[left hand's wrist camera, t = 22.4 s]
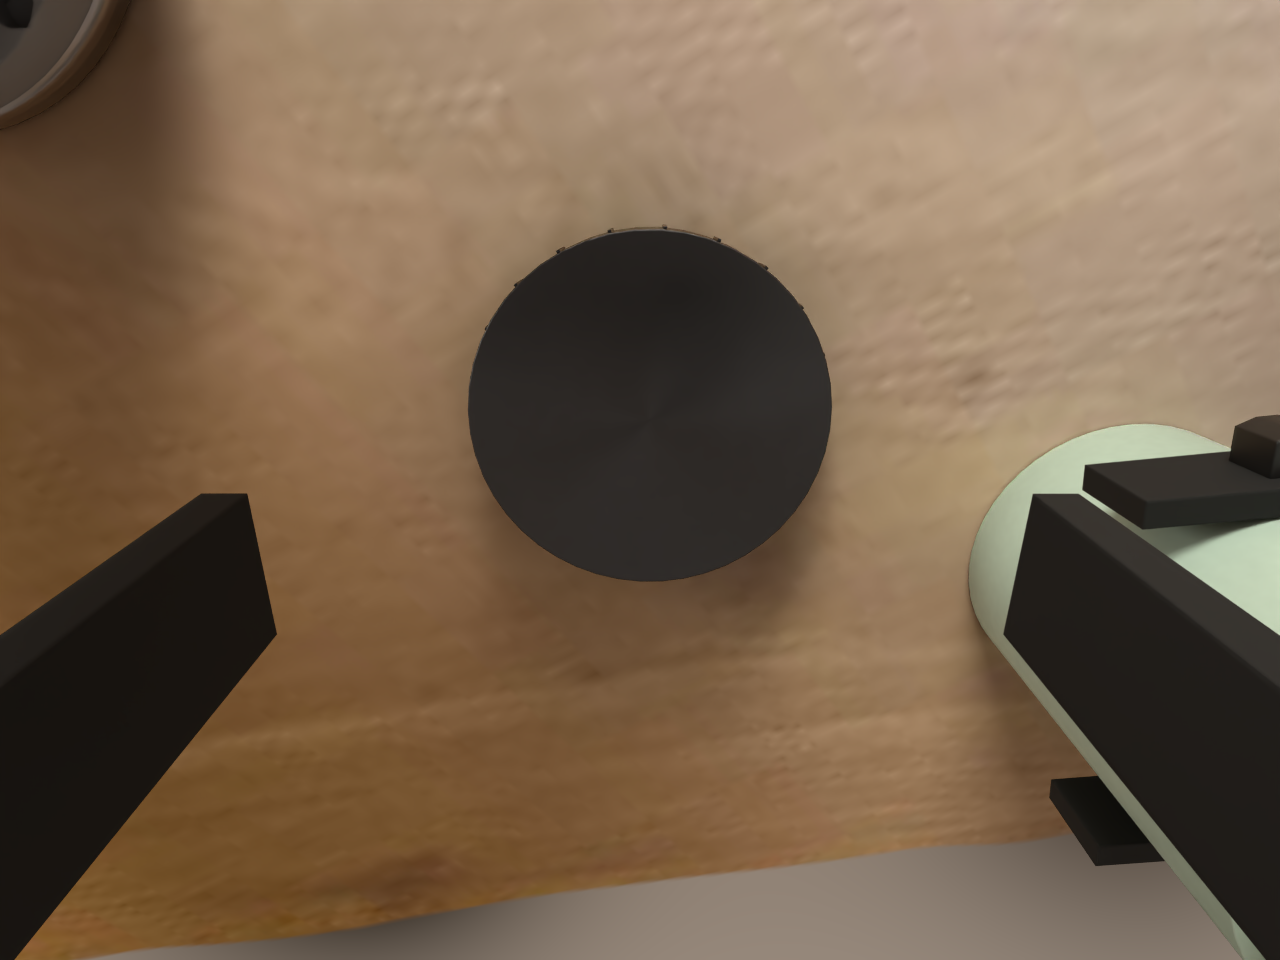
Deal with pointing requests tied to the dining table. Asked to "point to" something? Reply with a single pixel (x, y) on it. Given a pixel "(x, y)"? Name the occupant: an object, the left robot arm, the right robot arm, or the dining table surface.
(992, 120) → the dining table surface
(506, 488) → the lid
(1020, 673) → the jar
